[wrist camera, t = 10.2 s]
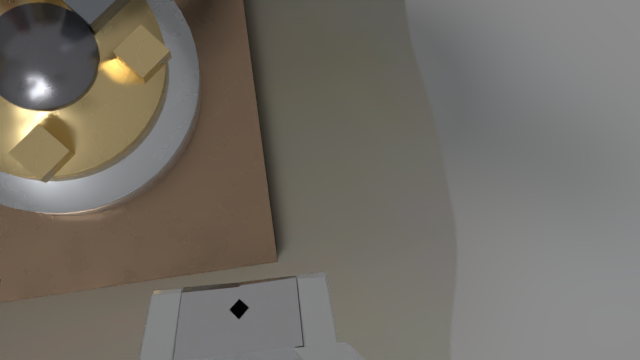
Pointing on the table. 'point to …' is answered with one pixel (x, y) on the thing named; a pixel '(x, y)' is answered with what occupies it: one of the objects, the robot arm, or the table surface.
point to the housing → (156, 179)
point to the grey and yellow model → (77, 85)
